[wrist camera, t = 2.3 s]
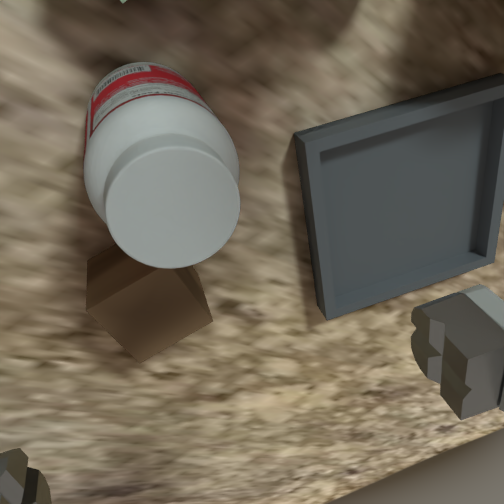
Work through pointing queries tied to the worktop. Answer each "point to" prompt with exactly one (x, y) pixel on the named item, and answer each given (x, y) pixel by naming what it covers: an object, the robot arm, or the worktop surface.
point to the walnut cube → (144, 302)
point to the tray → (403, 194)
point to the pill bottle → (160, 167)
